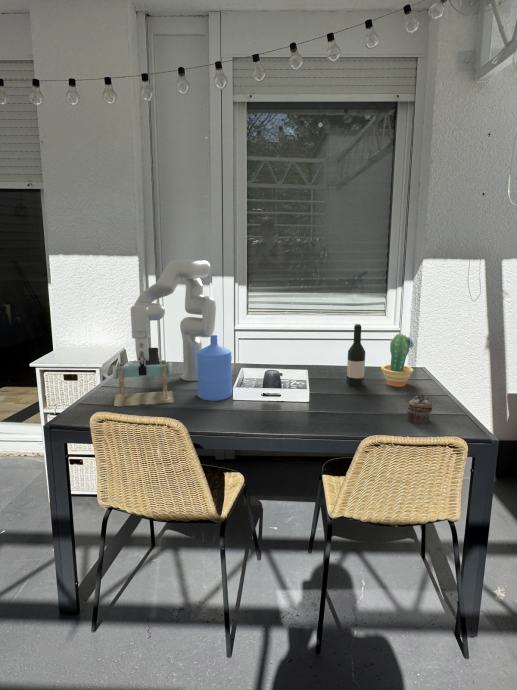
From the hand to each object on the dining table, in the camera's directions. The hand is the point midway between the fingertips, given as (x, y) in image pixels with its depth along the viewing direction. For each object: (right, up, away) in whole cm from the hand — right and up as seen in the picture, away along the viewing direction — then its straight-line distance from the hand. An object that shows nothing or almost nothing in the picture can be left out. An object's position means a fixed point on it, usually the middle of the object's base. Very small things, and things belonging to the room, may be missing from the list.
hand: (142, 372), depth 215 cm
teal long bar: (0, -2, +1) cm, 2 cm away
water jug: (+31, -12, +9) cm, 34 cm away
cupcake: (+114, -18, -20) cm, 118 cm away
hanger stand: (0, -13, +3) cm, 13 cm away
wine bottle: (+99, -8, +27) cm, 102 cm away
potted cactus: (+119, -8, +27) cm, 122 cm away
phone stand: (-7, -2, +53) cm, 54 cm away
